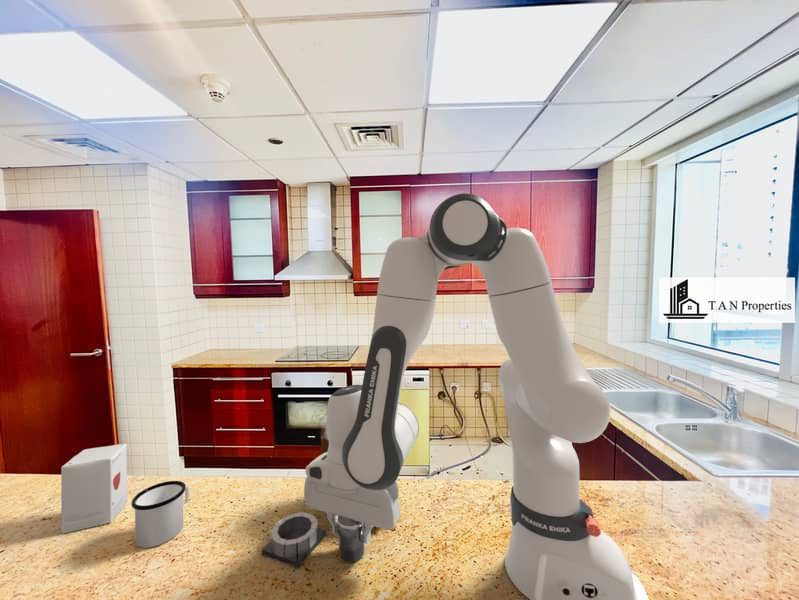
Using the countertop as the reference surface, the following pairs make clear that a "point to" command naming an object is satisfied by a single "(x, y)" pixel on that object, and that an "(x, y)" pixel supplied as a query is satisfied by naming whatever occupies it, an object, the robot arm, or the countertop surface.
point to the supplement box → (93, 487)
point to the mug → (159, 513)
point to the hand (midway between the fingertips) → (351, 536)
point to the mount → (294, 539)
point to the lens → (350, 539)
